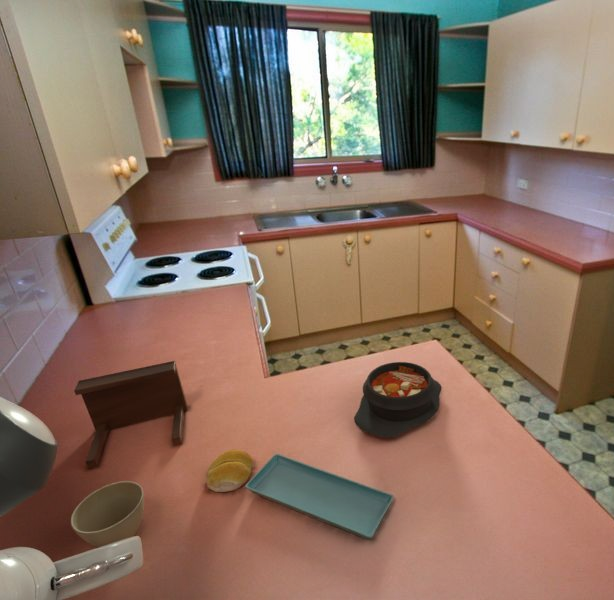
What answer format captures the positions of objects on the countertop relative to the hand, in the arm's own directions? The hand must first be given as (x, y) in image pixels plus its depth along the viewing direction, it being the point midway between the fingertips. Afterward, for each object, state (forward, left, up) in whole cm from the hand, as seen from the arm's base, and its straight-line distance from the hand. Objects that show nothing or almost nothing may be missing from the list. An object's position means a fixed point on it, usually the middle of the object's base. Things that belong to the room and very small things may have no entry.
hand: (61, 576), depth 51 cm
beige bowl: (0, +17, -14) cm, 23 cm away
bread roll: (+18, +23, -14) cm, 33 cm away
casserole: (+56, +28, -14) cm, 65 cm away
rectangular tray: (+33, +11, -14) cm, 37 cm away
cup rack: (0, +43, -14) cm, 46 cm away
